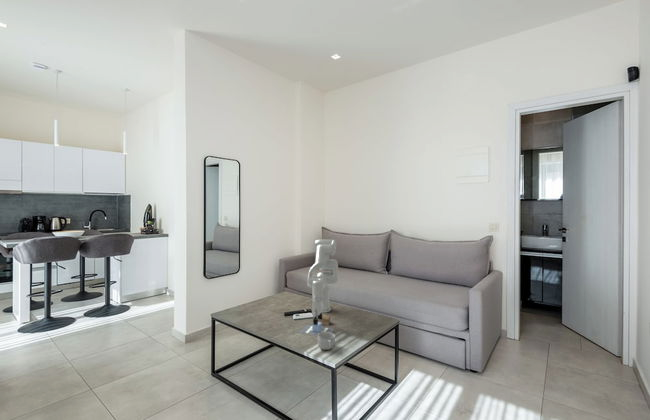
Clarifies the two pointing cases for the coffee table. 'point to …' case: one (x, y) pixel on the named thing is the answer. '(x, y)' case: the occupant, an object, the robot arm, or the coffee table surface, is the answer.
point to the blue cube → (317, 327)
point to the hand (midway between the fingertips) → (317, 321)
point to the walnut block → (324, 320)
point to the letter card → (308, 330)
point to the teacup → (326, 340)
